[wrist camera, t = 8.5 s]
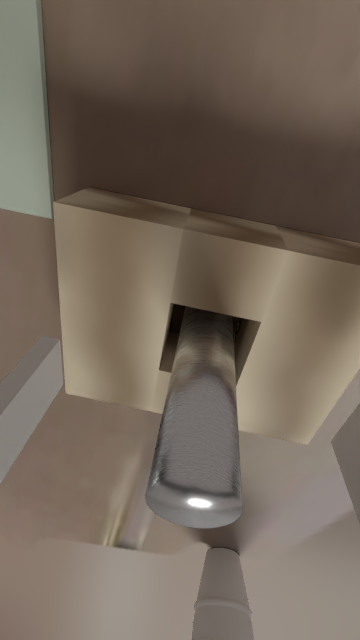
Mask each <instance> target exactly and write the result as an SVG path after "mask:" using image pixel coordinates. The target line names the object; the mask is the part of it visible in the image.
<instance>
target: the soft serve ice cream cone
mask: <svg viewBox="0 0 360 640" xmlns="http://www.w3.org/2000/svg"><path fill="white" fill-rule="evenodd" d="M194 608H195V615H194V622H193V631H192V640H254V637H253V629H252V622H251V618H252V612H251V610H250V608H249V604H248V599H247V593H246V588H245V583H244V578H243V573H242V568H241V563H240V558H239V555H238V554H237V553H236V552H235V551H233V550H230V549H227V548H212V549H209V550H208V551H207V553H206V558H205V562H204V567H203V572H202V578H201V582H200V587H199V592H198V597H197V601H196V602H195V605H194Z"/></svg>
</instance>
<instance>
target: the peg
mask: <svg viewBox="0 0 360 640" xmlns="http://www.w3.org/2000/svg"><path fill="white" fill-rule="evenodd" d="M145 499H146V503H147V505H148V506H149V508H150V509H151V510H152V511H153V512H154V513H155V514H157V515H158V516H160V517H161V518H163V519H165V520H167V521H170V522H172V523H175V524H178V525H182V526H187V527H193V528H216V527H221V526H225V525H228V524H230V523H232V522H234V521H235V520H237V519H238V518H239V517H240V515H241V513H242V490H241V471H240V453H239V434H238V415H237V396H236V378H235V359H234V340H233V322H232V316H231V315H226V314H221V313H216V312H212V311H207V310H202V309H197V308H192V307H188V306H185V310H184V315H183V320H182V325H181V329H180V334H179V339H178V343H177V348H176V353H175V358H174V362H173V367H172V372H171V377H170V381H169V386H168V391H167V396H166V400H165V405H164V410H163V414H162V419H161V424H160V429H159V433H158V438H157V443H156V448H155V452H154V457H153V462H152V467H151V471H150V476H149V481H148V485H147V490H146V495H145Z"/></svg>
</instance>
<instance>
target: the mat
mask: <svg viewBox="0 0 360 640" xmlns="http://www.w3.org/2000/svg"><path fill="white" fill-rule="evenodd" d="M53 202H54V193H53V178H52V163H51V148H50V132H49V117H48V102H47V87H46V71H45V56H44V41H43V26H42V10H41V0H0V208H2V209H7V210H12V211H17V212H21V213H26V214H31V215H36V216H41V217H45V218H50V219H52V218H54V210H53Z"/></svg>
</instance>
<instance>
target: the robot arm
mask: <svg viewBox="0 0 360 640" xmlns="http://www.w3.org/2000/svg"><path fill="white" fill-rule="evenodd" d="M62 385H63V375H62V361H61V348H60V339H55V338H51V337H46V336H42V337H41V338H40V339H39V340H38V342H37V343H36V344H35V345H34V346H33V347H32V348H31V350H30V351H29V352H28V353H27V354H26V355H25V356H24V357H23V359H22V360H21V361H20V362H19V363H18V364H17V365H16V367H15V368H14V369H13V370H12V371H11V372H10V373H9V374H8V376H7V377H6V378H5V379H4V380H3V381H2V382H1V384H0V484H1V482H2V480H3V479H4V477H5V476H6V474H7V472H8V471H9V469H10V468H11V466H12V465H13V463H14V461H15V460H16V458H17V457H18V455H19V453H20V452H21V450H22V449H23V447H24V445H25V444H26V442H27V441H28V439H29V438H30V436H31V434H32V433H33V431H34V430H35V428H36V426H37V425H38V423H39V422H40V420H41V419H42V417H43V415H44V414H45V412H46V411H47V409H48V407H49V406H50V404H51V403H52V401H53V400H54V398H55V396H56V395H57V393H58V392H59V390H60V388H61V387H62ZM331 443H332V446H333V449H334V452H335V454H336V457H337V460H338V463H339V466H340V469H341V472H342V475H343V477H344V480H345V483H346V486H347V489H348V492H349V495H350V497H351V500H352V503H353V506H354V509H355V512H356V515H357V517H358V520H359V523H360V404H359V405H358V406H357V408H356V409H355V410H354V412H353V413H352V414H351V415H350V417H349V418H348V419H347V421H346V422H345V423H344V425H343V426H342V427H341V429H340V430H339V431H338V433H337V434H336V435H335V437H334V438H333V439H332V441H331Z"/></svg>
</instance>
